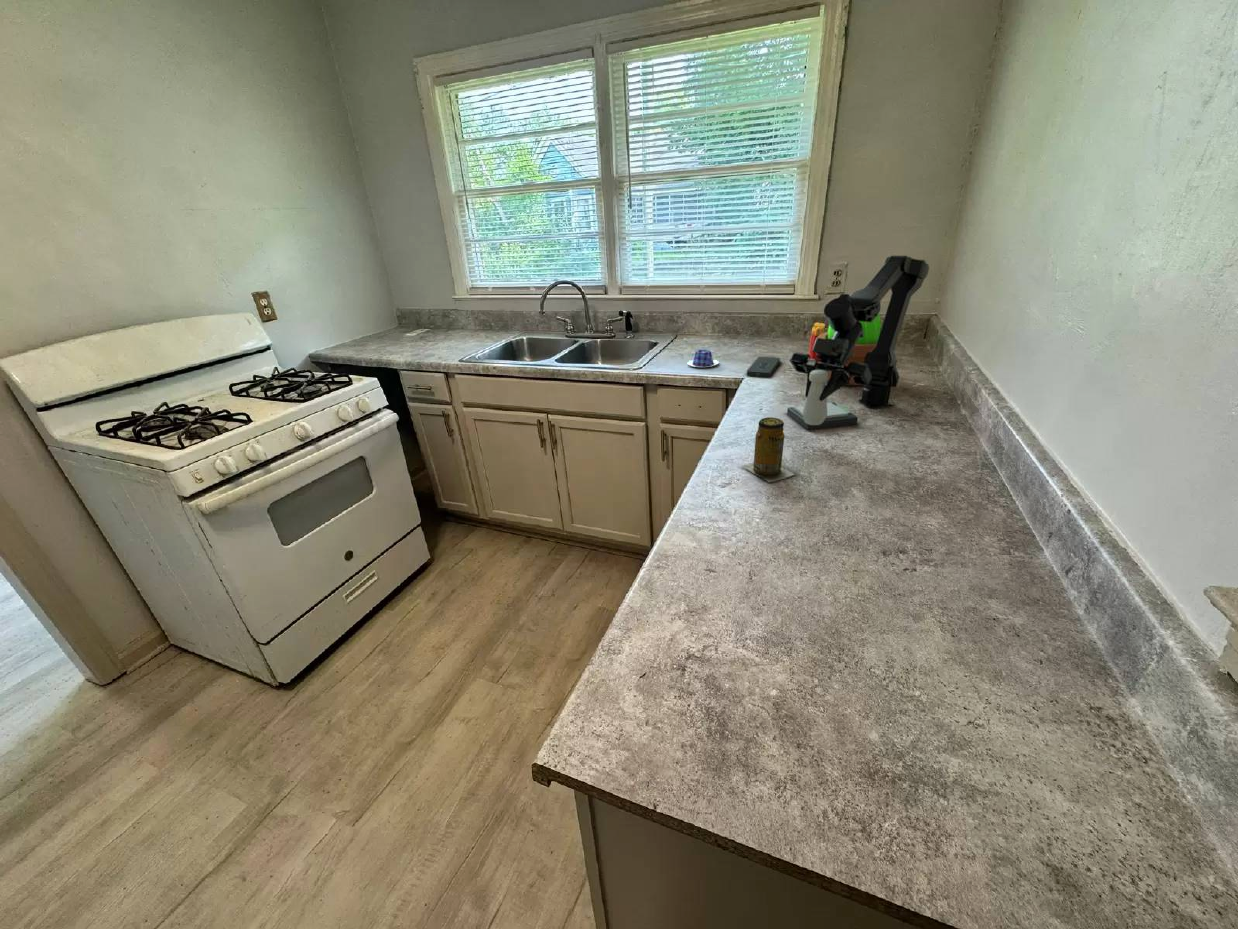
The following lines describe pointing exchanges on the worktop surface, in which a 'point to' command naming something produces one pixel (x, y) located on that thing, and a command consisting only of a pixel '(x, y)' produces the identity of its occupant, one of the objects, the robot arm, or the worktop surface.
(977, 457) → the worktop surface
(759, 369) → the smart home device
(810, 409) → the salt shaker
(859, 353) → the potted cactus
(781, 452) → the condiment
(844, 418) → the kitchen scale
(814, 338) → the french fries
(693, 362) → the pudding
